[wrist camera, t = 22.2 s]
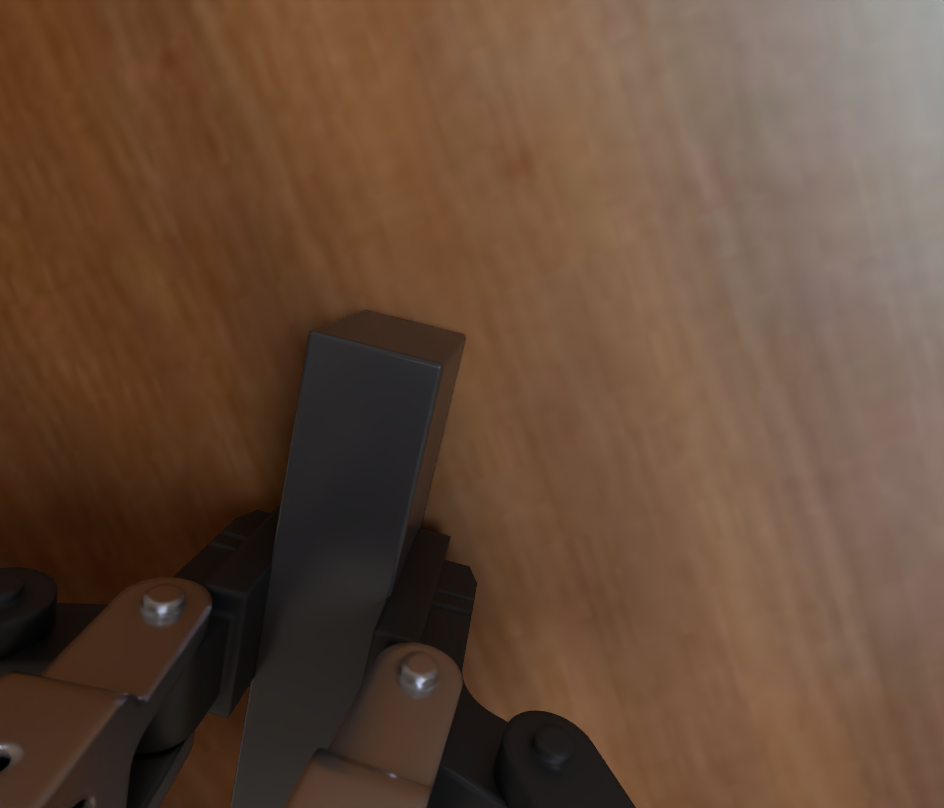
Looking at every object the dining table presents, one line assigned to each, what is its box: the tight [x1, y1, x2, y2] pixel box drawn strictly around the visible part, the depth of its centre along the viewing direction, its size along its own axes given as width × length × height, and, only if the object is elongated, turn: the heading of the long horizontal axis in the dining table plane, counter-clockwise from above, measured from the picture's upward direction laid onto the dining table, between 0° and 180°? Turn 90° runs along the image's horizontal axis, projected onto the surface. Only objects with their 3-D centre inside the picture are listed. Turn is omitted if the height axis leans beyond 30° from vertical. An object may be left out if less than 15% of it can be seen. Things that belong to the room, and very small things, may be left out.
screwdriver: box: [230, 310, 466, 808], centre depth 13 cm, size 20×2×3 cm, turn 167°
